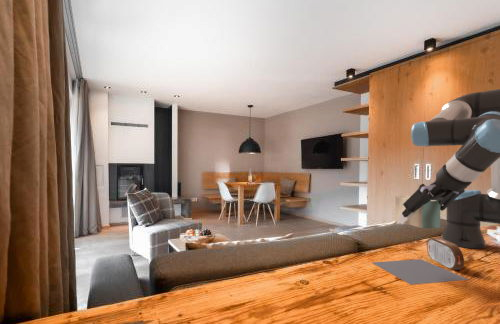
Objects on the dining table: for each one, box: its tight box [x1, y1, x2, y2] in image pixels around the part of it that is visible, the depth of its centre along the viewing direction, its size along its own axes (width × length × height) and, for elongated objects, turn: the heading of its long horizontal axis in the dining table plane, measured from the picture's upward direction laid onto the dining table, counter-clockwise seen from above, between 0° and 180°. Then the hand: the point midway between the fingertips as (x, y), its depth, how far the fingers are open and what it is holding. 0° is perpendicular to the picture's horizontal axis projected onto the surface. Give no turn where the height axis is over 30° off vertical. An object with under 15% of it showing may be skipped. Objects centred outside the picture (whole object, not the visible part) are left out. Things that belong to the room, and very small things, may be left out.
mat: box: [370, 258, 470, 285], centre depth 86 cm, size 20×17×1 cm
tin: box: [426, 236, 465, 271], centre depth 92 cm, size 15×3×8 cm, turn 179°
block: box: [393, 195, 441, 229], centre depth 87 cm, size 6×8×12 cm
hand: (409, 220), depth 89 cm, fingers closed on block, 6 cm apart
